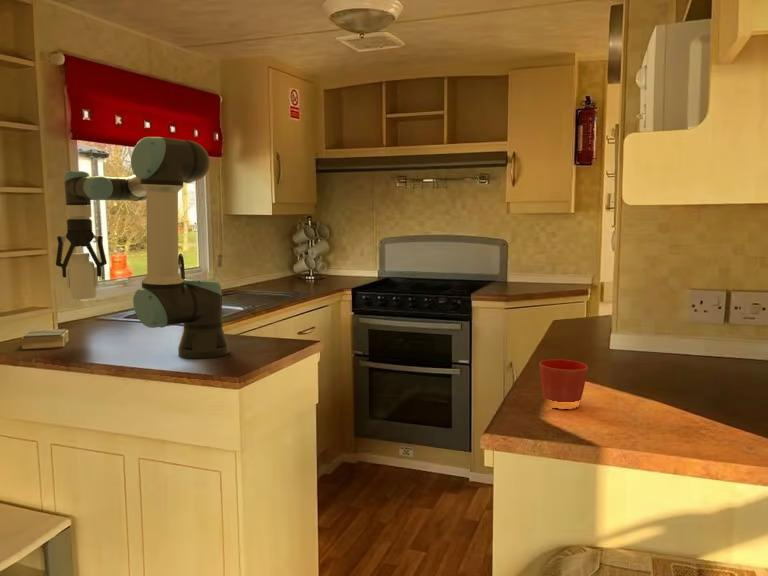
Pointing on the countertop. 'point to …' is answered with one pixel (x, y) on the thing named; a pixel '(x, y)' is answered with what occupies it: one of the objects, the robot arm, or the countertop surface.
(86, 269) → the pill bottle
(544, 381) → the flower pot
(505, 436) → the countertop surface
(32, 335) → the stand
